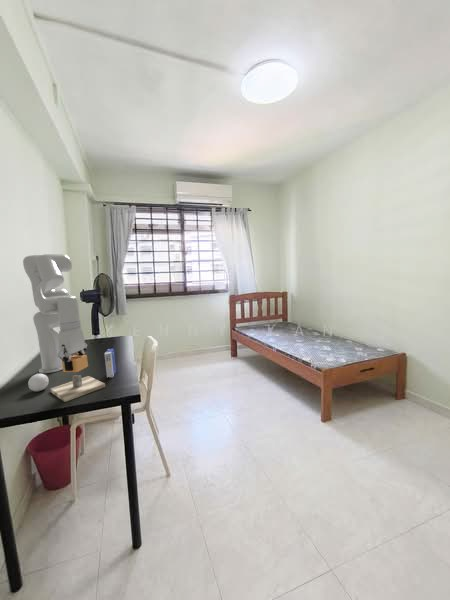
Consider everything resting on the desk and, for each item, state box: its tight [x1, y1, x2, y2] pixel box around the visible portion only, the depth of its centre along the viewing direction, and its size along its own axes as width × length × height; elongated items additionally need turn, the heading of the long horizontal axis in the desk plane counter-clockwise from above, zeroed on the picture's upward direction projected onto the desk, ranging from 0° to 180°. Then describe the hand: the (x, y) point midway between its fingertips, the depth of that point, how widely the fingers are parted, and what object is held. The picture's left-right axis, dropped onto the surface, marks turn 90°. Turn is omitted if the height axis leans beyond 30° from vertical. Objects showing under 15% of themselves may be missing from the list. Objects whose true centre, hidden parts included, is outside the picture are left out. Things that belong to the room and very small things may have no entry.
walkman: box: [104, 348, 117, 379], centre depth 129 cm, size 8×3×12 cm, turn 11°
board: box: [49, 374, 106, 403], centre depth 114 cm, size 16×16×6 cm
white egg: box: [27, 373, 50, 392], centre depth 114 cm, size 10×7×7 cm
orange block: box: [62, 354, 89, 373], centre depth 113 cm, size 7×7×5 cm
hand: (75, 367), depth 113 cm, fingers closed on orange block, 6 cm apart
